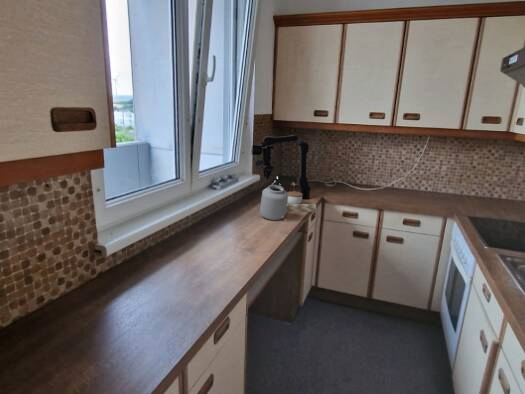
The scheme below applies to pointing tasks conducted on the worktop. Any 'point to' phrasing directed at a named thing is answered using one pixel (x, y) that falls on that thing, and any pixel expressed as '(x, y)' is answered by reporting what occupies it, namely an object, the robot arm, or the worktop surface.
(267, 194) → the jar
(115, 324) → the worktop surface
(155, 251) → the worktop surface
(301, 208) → the board
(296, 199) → the lidded jar
